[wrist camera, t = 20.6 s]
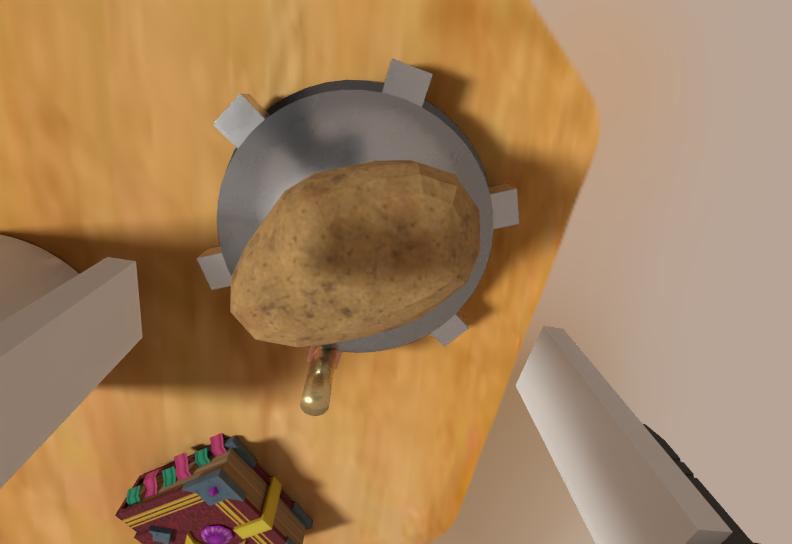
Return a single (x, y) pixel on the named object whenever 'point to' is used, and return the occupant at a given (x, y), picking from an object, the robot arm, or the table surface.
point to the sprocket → (335, 148)
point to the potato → (356, 254)
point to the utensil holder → (27, 274)
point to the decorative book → (213, 501)
